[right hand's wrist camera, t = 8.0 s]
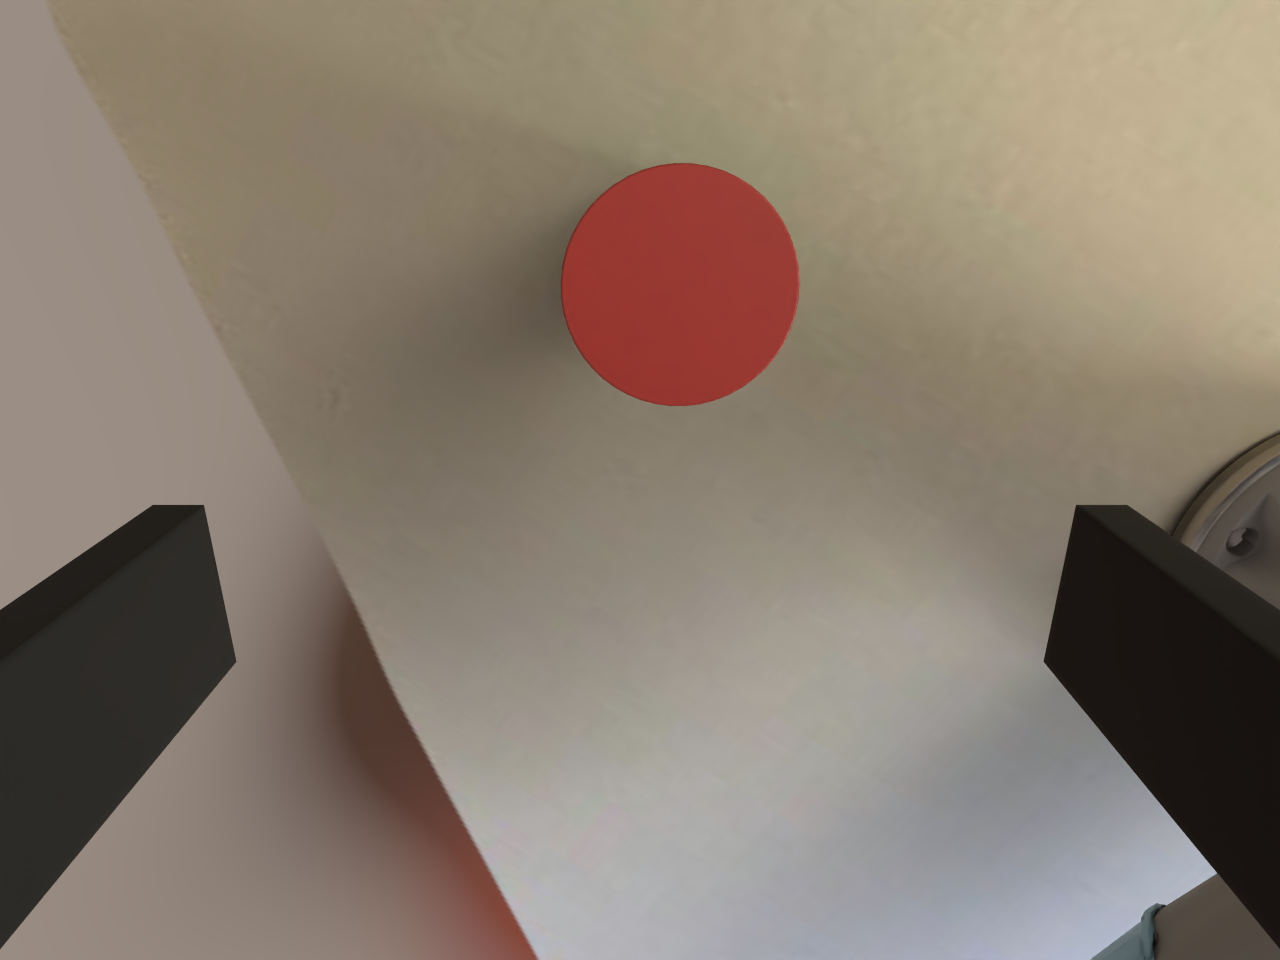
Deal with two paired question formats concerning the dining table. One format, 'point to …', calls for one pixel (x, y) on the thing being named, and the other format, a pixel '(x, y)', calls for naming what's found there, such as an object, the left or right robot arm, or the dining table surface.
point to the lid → (680, 284)
